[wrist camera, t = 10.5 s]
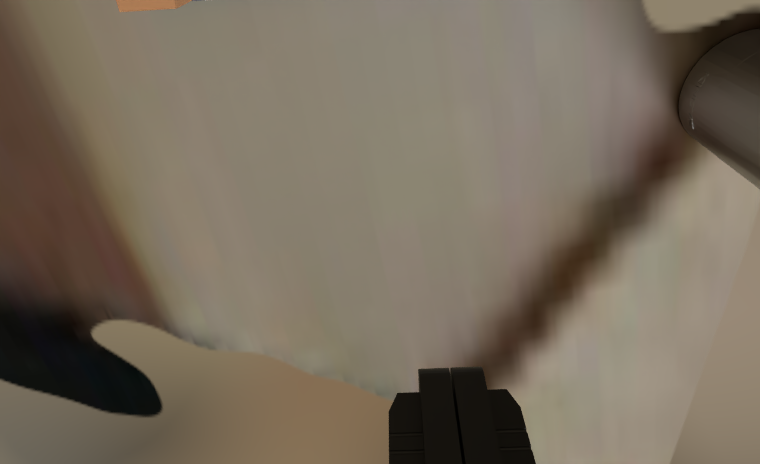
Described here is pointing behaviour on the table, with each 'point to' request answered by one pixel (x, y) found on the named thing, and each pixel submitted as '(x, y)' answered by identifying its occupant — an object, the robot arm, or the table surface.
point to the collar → (149, 4)
